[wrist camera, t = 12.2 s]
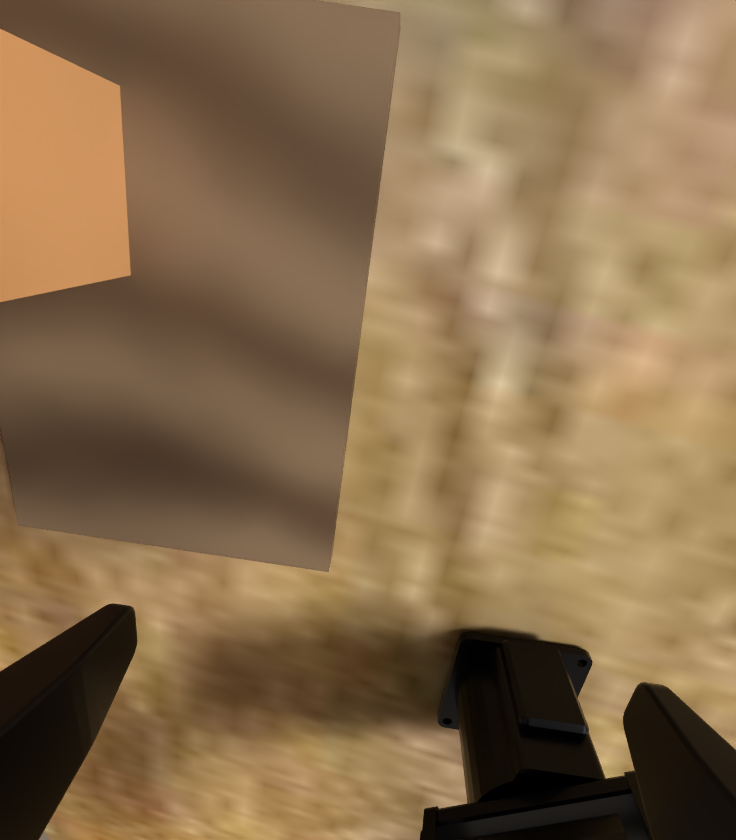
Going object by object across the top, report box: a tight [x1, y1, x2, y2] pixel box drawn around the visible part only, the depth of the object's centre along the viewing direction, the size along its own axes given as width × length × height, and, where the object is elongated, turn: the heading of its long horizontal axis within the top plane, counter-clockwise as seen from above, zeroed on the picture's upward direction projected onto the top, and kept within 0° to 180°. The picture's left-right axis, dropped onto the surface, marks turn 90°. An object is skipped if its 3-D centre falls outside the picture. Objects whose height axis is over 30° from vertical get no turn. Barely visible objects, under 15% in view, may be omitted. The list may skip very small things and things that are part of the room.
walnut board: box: [0, 0, 400, 572], centre depth 18 cm, size 20×14×1 cm
